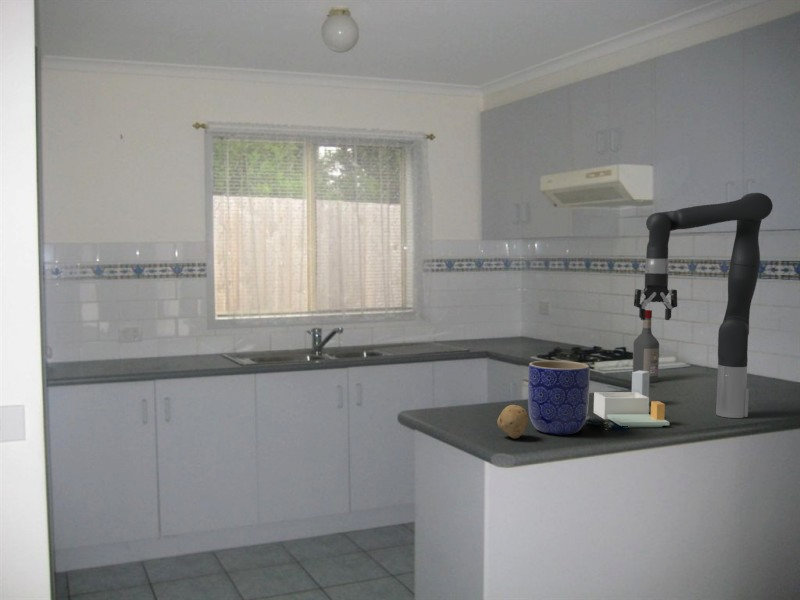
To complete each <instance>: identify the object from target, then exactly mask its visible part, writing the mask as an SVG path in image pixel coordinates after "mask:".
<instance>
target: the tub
mask: <svg viewBox="0 0 800 600" xmlns="http://www.w3.org/2000/svg"><path fill="white" fill-rule="evenodd" d="M593 394H594V395H593V414H595V415H596V416H598V417H600V418H602V419H603V420H610V419H609V418H607V414H649V413H650V397H649V398H648V397H646V396H644V395H642V394H640V393H638V392H632V391H617V392H616V391H603V392H602V391H601V392H600V391H597V392H593Z"/></svg>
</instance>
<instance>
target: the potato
mask: <svg viewBox="0 0 800 600" xmlns="http://www.w3.org/2000/svg"><path fill="white" fill-rule="evenodd" d="M496 422H497V426H498V428H499V429H500V430H501V431H503V432H504V433H506V435H508V437H509V438H512V439H518V438H520V437H521V436H522V435H523V434H524V432H525V431H526V429H527V427H528V423H529V413H528V412H527V411H526V409H525V408H524V407H522V406H520V405H518V404H510V405H507V406H506V407H504V408H503V410H502V411H501V412H500V415H499V416H498V418H497V421H496Z"/></svg>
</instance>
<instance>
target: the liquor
mask: <svg viewBox="0 0 800 600" xmlns="http://www.w3.org/2000/svg"><path fill="white" fill-rule="evenodd" d="M652 317H653V310H652V309H645V320H642V330H641V333H640V334H639V335H638V336H637V337H636V338H635V339H634V341H633V349H632V350H633V352H632V372H635V371H639V370H640V371H648V372H649V384H652V383H657V382H658V381H659V367H660V366H659V362H660V361H659V360H660V343H659V341H658V339H657V338H656V337H655V335H653V332H652Z"/></svg>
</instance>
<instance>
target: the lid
mask: <svg viewBox="0 0 800 600" xmlns="http://www.w3.org/2000/svg"><path fill="white" fill-rule="evenodd" d="M665 408H666V403H663V402H661V401H659V400H658V401H657V400H656V401H655V400H651V401H650V414H607V418H609V419H608V420H610V421H612V422H613V423H615V424H616V425H618V426H620V427H622V426H628V427H627V428H663V426H670V421H668V420H666V419H665V415H666V413H665V412H666V411H665Z"/></svg>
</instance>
